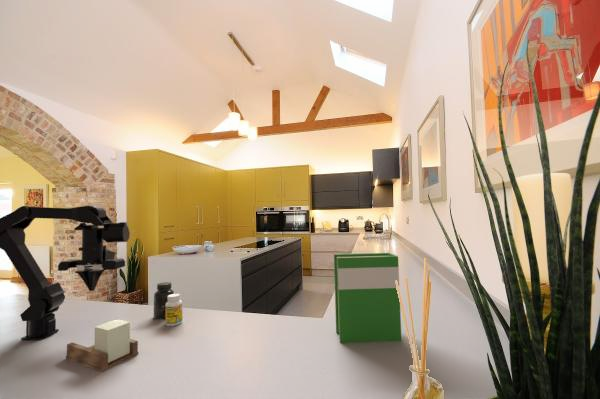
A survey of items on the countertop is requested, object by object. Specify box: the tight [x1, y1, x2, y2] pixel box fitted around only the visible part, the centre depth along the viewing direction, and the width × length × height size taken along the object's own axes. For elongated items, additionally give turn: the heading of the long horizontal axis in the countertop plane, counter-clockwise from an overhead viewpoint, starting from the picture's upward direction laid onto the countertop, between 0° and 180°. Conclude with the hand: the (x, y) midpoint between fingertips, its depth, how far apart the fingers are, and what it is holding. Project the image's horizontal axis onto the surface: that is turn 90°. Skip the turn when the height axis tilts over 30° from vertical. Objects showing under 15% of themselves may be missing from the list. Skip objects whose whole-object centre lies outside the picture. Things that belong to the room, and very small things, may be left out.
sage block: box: [93, 318, 131, 363], centre depth 73 cm, size 6×6×8 cm
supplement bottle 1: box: [153, 281, 175, 320], centre depth 103 cm, size 7×7×12 cm
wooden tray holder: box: [65, 338, 139, 373], centre depth 74 cm, size 16×9×4 cm, turn 65°
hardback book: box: [333, 252, 402, 344], centre depth 83 cm, size 18×7×24 cm, turn 91°
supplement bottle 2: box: [165, 293, 183, 327], centre depth 96 cm, size 5×5×10 cm
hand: (92, 290), depth 92 cm, fingers closed
